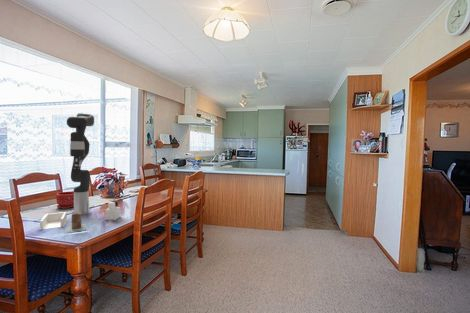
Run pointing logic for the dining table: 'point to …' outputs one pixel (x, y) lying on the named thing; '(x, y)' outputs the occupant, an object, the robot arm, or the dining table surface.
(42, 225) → the cream curved tray
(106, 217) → the medicine bottle
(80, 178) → the robot arm
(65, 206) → the plant pot
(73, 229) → the grey-green mat
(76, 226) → the walnut block
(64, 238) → the dining table surface
